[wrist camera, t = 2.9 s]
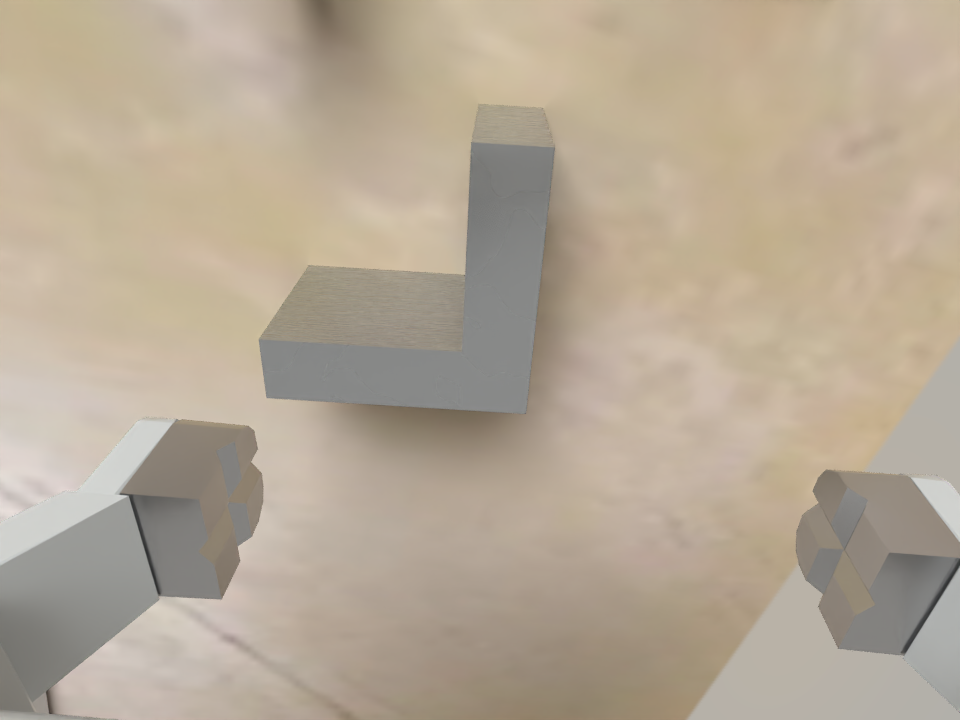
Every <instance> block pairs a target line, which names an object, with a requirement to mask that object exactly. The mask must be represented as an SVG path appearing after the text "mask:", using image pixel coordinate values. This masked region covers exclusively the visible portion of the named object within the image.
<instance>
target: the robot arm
mask: <svg viewBox="0 0 960 720" xmlns="http://www.w3.org/2000/svg"><path fill="white" fill-rule="evenodd" d="M257 450H258V447H257V442H256V437H255V432H254V430H253V429H252V428H250V427H249V426H245V425H235V424H224V423H214V422H204V421H193V420H183V419H182V420H178V419H168V418H157V417H146V418H143V419H140V420H138V421H137V422H136V423H135V424H134V425H133V427H132V428H131V429H130V430H129V431H128V432H127V433H126V435H125V436H124V437H123V438H122V439H121V440H120V442H119V443H118V444H117V445H116V446H115V447H114V449H113V450H112V451H111V452H110V453H109V454H108V456H107V457H106V458H105V459H104V460H103V461H102V463H101V464H100V465H99V466H98V467H97V468H96V470H95V471H94V472H93V473H92V474H91V475H90V476H89V478H88V479H87V480H86V481H85V482H84V483H83V485H82V486H81V487H80V488H79V489H78V490H77V491H64V492H62V493H60V494H58V495H55V496H53V497H51V498H49V499H47V500H45V501H43V502H41V503H39V504H37V505H35V506H33V507H30V508H28V509H26V510H24V511H22V512H20V513H18V514H16V515H14V516H12V517H10V518H8V519H6V520H3V521H1V522H0V720H116V719H104V718H92V717H80V716H68V715H56V714H49V709H48V702H47V696H46V691H47V690H48V689H50V688H51V687H52V686H53V685H55V684H56V683H57V682H58V681H60V680H61V679H62V678H63V677H64V676H66V675H67V674H68V673H69V672H71V671H72V670H73V669H74V668H76V667H77V666H78V665H79V664H81V663H82V662H83V661H84V660H85V659H87V658H88V657H89V656H90V655H92V654H93V653H94V652H95V651H97V650H98V649H99V648H100V647H101V646H103V645H104V644H105V643H106V642H108V641H109V640H110V639H111V638H113V637H114V636H115V635H116V634H118V633H119V632H120V631H121V630H122V629H124V628H125V627H126V626H127V625H129V624H130V623H131V622H132V621H134V620H135V619H136V618H137V617H139V616H140V615H141V614H142V613H143V612H145V611H146V610H147V609H148V608H150V607H151V606H152V605H153V604H155V603H156V602H157V601H158V600H159V596H166V597H185V598H205V599H222V598H223V596H224V594H225V592H226V589H227V587H228V585H229V583H230V581H231V579H232V577H233V575H234V573H235V571H236V569H237V567H238V565H239V563H240V557H239V552H238V546H239V545H240V544H242V543H243V542H245V541H246V540H248V539H249V538H251V537H252V535H253V533H254V531H255V528H256V526H257V524H258V522H259V518H260V513H261V509H262V504H263V480H262V473H261V472H260V471H259V470H258V469H257V468H256V467H255V466H254V465H253V464H252V463H251V461H252V459H253V457H254V455H255V453H256V452H257ZM813 493H814V495H815V497H816V499H817V501H818V504H817V505H815V506H814V507H812V508H811V509H810V510H808V511H807V512H805V513H804V514H803V515H802V518H801V520H800V523H799V526H798V529H797V532H796V553H797V558H798V562H799V566H800V568H801V570H802V573H803V575H804V577H805V579H806V581H808V582H809V583H810V584H811V585H813V586H814V587H815V588H816V589H818V590H819V591H820V592H821V593H823V596H822V598H821V601H820V603H819V606H818V607H819V609H820V611H821V614H822V616H823V618H824V620H825V622H826V624H827V626H828V628H829V630H830V632H831V634H832V636H833V639H834V641H835V643H836V645H837V647H838V649H847V650H857V651H865V652H875V653H884V654H894V655H903V656H904V657H903V659H904V660H905V661H906V662H907V663H908V664H909V665H910V666H911V667H912V668H913V669H914V670H915V671H916V672H917V673H918V674H920V676H921V677H923V678H924V679H925V680H926V681H927V682H928V683H929V684H930V685H931V686H932V687H933V688H934V689H935V690H936V691H937V692H938V693H939V694H940V695H941V696H943V697H944V698H945V699H946V700H947V701H948V702H949V703H950V704H951V705H952V706H953V707H954V708H955V709H956V710H957V711H958V712H959V713H960V495H959V494H958V493H957V491H956V490H955V489H954V488H953V487H952V485H951V484H950V483H949V482H948V481H946V480H945V479H943V478H941V477H939V476H937V475H919V474H898V475H896V474H884V473H870V472H856V471H841V470H827V469H826V470H825V471H824V472H823V473H822V474H821V475H820V476H819V477H818V480H817V482H816V484H815V486H814V489H813Z"/></svg>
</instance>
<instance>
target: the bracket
mask: <svg viewBox="0 0 960 720" xmlns="http://www.w3.org/2000/svg"><path fill="white" fill-rule="evenodd" d="M554 151H555V146H554V143H553V140H552V136H551V133H550V130H549V127H548V123H547V120H546V117H545V113H544V110H543V108H536V107H520V106H504V105H488V104H479V106H478V111H477V116H476V122H475V127H474V132H473V137H472V142H471V163H470V185H469V207H468V229H467V251H466V273H465V275H459V274H442V273H426V272H410V271H394V270H378V269H362V268H346V267H329V266H313V265H309V266H308V268H307V269H306V271H305V272H304V273H303V275H302V276H301V278H300V279H299V281H298V282H297V284H296V285H295V287H294V288H293V290H292V291H291V293H290V294H289V296H288V297H287V298H286V300H285V301H284V303H283V304H282V306H281V307H280V309H279V310H278V312H277V313H276V315H275V316H274V318H273V319H272V321H271V322H270V324H269V325H268V326H267V328H266V329H265V331H264V332H263V334H262V335H261V337H260V338H259V345H260V352H261V360H262V367H263V375H264V382H265V390H266V397H267V398H275V399H291V400H308V401H324V402H340V403H356V404H372V405H388V406H404V407H421V408H437V409H453V410H469V411H485V412H501V413H517V414H526V409H527V400H528V391H529V381H530V372H531V363H532V354H533V344H534V335H535V326H536V317H537V308H538V298H539V289H540V280H541V271H542V262H543V252H544V243H545V234H546V225H547V215H548V206H549V197H550V188H551V179H552V169H553V160H554Z"/></svg>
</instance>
